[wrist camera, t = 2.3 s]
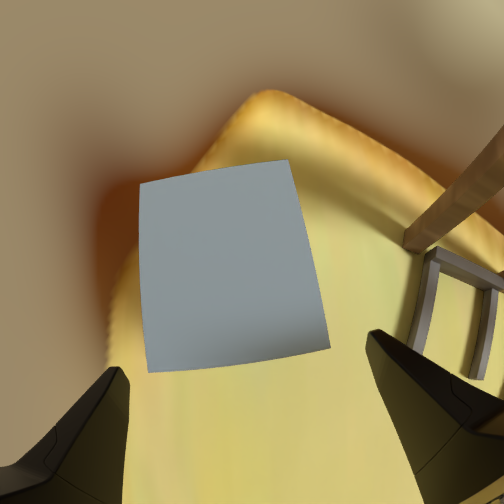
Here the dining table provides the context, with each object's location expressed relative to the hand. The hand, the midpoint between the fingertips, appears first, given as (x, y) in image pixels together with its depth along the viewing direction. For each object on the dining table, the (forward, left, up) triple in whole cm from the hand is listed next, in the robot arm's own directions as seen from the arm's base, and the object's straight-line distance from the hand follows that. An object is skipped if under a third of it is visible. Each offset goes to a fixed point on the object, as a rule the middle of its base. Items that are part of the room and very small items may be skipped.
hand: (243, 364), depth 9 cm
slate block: (+2, +2, -10) cm, 11 cm away
